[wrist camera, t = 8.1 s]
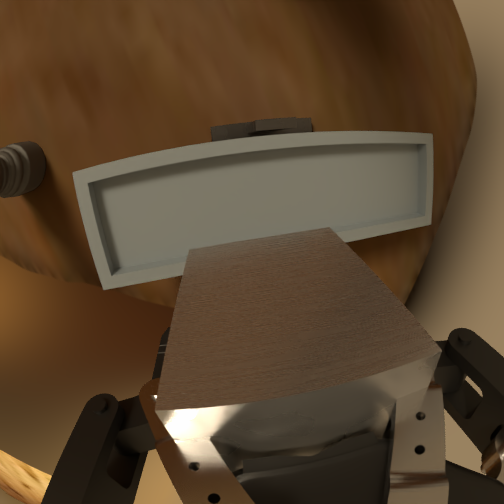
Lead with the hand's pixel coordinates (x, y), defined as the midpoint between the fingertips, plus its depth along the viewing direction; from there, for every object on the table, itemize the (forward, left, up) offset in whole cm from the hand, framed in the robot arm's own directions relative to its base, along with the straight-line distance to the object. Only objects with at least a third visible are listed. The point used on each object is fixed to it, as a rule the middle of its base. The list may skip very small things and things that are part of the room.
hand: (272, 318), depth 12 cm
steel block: (0, 0, -2) cm, 2 cm away
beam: (-3, +3, -14) cm, 14 cm away
